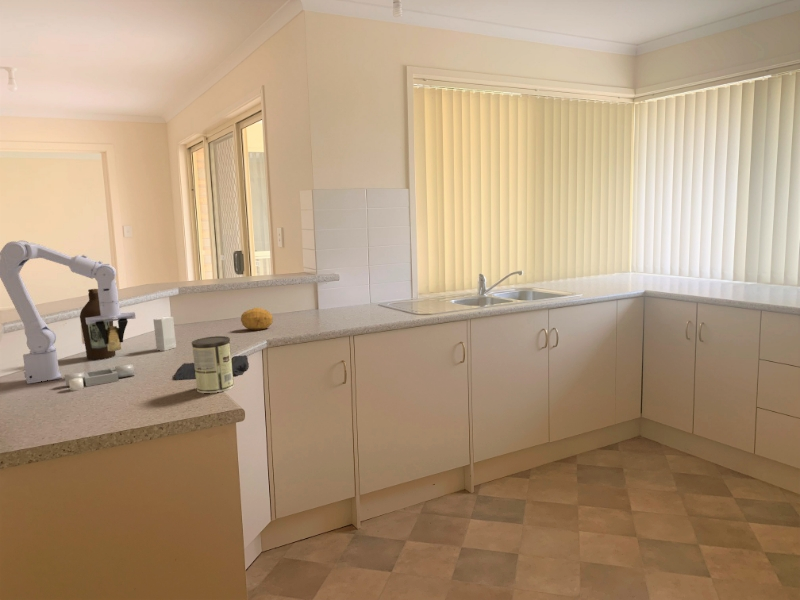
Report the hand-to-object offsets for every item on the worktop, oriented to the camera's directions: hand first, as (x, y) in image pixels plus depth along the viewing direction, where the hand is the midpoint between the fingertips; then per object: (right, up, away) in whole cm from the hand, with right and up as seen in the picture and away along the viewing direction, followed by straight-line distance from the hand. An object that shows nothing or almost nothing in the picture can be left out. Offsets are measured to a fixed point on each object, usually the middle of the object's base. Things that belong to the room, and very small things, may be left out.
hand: (113, 342), depth 198 cm
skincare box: (+5, -5, +31) cm, 32 cm away
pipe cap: (-2, -12, -19) cm, 23 cm away
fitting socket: (+1, -11, -11) cm, 16 cm away
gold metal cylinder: (0, -2, 0) cm, 2 cm away
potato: (+32, +1, +63) cm, 71 cm away
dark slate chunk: (+35, -9, -7) cm, 37 cm away
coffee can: (+41, -11, -26) cm, 50 cm away
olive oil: (-15, -7, +23) cm, 29 cm away
